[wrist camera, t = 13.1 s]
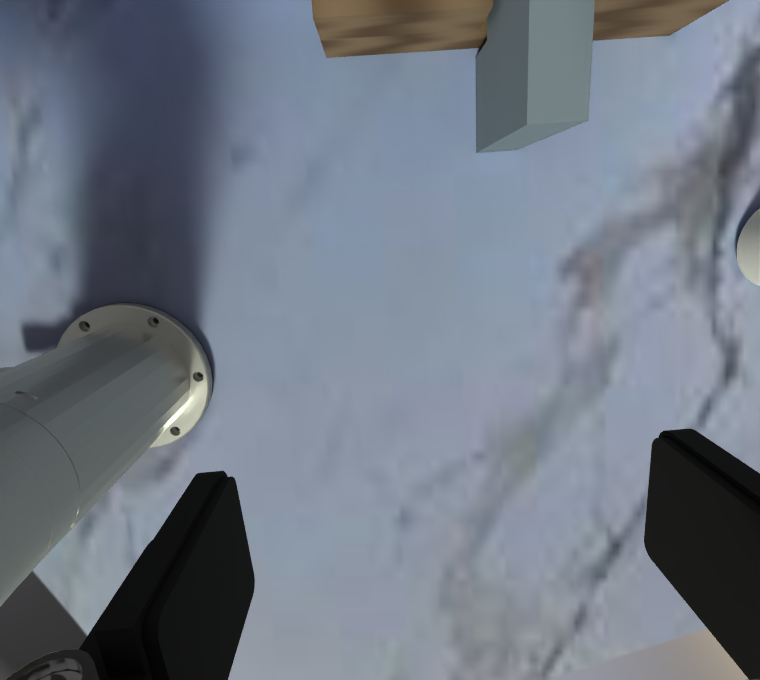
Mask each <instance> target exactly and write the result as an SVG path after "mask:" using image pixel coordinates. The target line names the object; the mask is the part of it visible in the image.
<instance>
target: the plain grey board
mask: <svg viewBox="0 0 760 680" xmlns="http://www.w3.org/2000/svg"><path fill="white" fill-rule="evenodd" d="M594 6H595V0H493V7H492V9H491V11H490V12H489V14H488V16H487V41H486V43H485V44H484V46H483V47H482V49H481V50H480V52H479V54H478V55H477V57H476V153H481V152H495V151H509V150H518V149H520V148H523V147H525V146H528V145H530V144H533V143H535V142H537V141H540V140H542V139H545V138H547V137H549V136H552V135H554V134H557V133H559V132H562V131H564V130H566V129H569V128H571V127H574V126H576V125H578V124H581V123H583V122H586V121H588V117H589V98H590V80H591V62H592V43H593V25H594Z"/></svg>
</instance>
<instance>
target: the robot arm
mask: <svg viewBox="0 0 760 680" xmlns="http://www.w3.org/2000/svg"><path fill="white" fill-rule="evenodd" d="M156 318H157V319H158V321H159V322H157V321H156ZM199 372H200V373H202V374H203V375H200V373H199ZM212 383H213V382H212V374H211V368H210V365H209V362H208V359H207V356H206V354H205V352H204V350H203V348H202V346H201V345H200V343H199V342H198V340H197V339H196V338H195V337H194V335H193V334H192V333H191V332H190V331H189V330H188V329H187V328H186V327H185V326H184V325H183V324H182V323H180V322H179V321H178V320H176V319H175V318H173V317H172V316H170V315H168V314H167V313H165V312H163V311H160V310H158V309H155V308H153V307H150V306H145V305H141V304H136V303H117V304H111V305H106V306H103V307H100V308H97V309H94V310H92V311H90V312H88V313H86V314H84V315H82V316H80V317H79V318H78V319H76V320H75V321H74V322H73V323H72V324H70V326H69V327H68V328H67V329H66V331H65V332H64V333H63V335H62V337H61V339H60V341H59V343H58V345H57V348H56V349H54V350H52V351H49V352H47V353H45V354H42V355H40V356H38V357H36V358H33V359H31V360H29V361H26V362H24V363H22V364H20V365H17V366H15V367H6V368H0V606H1V605H2V604H3V603H4V601H5V600H6V599H7V598H8V597H9V596H10V595H11V593H12V592H13V591H14V590H15V589H16V588H17V587H18V585H19V584H20V583H21V582H22V581H23V580H24V579H25V578H26V577H27V576H28V575H29V573H30V572H31V571H32V570H33V569H34V568H35V567H36V566H37V565H38V564H39V563H40V561H41V560H42V559H43V558H44V557H45V556H46V555H47V554H48V553H49V552H50V551H51V550H52V549H53V548H54V547H55V546H56V545H57V543H58V542H59V541H60V540H61V539H62V538H63V537H64V536H65V535H66V534H67V533H68V532H69V531H70V530H71V529H72V528H73V527H74V526H75V525H76V524H77V523H78V522H79V521H80V520H81V518H82V517H83V516H84V515H85V514H86V513H87V512H88V511H89V510H90V509H91V508H92V507H93V506H94V505H95V504H96V503H97V502H98V501H99V500H100V499H101V497H102V496H103V495H104V494H105V493H106V492H107V491H108V490H109V489H110V488H111V487H112V486H113V485H114V484H115V483H116V482H117V481H118V480H119V479H120V478H121V476H122V475H123V474H124V473H125V472H126V471H127V470H128V469H129V468H130V467H131V466H132V465H133V464H134V463H135V462H136V461H137V460H138V459H139V458H140V457H141V455H142V454H143V453H144V452H145V451H146V450H147V449H148V448H155V447H161V446H164V445H167V444H170V443H173V442H175V441H177V440H178V439H180V438H182V437H184V436H185V435H186V434H187V433H188V432H189V431H191V430H192V429H193V428H194V427H195V426H196V424H197V423H198V422H199V421H200V420H201V418H202V417H203V415H204V413H205V411H206V410H207V408H208V405H209V402H210V398H211V394H212ZM644 543H645V548H646V551H647V553H648V555H649V557H650V558H651V560H652V561H653V562H654V563H655V564H656V566H657V567H658V568H659V569H660V571H661V572H662V573H663V574H664V576H665V577H666V578H667V579H668V580H669V582H670V583H671V584H672V585H673V587H674V588H675V589H676V590H677V591H678V593H679V594H680V595H681V596H682V598H683V599H684V600H685V601H686V603H687V604H688V605H689V606H690V607H691V609H692V610H693V611H694V612H695V614H696V615H697V616H698V617H699V619H700V620H701V621H702V622H703V623H704V625H705V626H706V627H707V628H708V630H709V631H710V632H711V633H712V634H713V635H714V637H715V638H716V639H717V641H718V642H719V643H720V644H721V646H722V647H723V648H724V649H725V650H726V652H727V653H728V654H729V655H730V657H731V658H732V659H733V660H734V661H735V663H736V664H737V665H738V666H739V668H740V669H741V670H742V671H743V673H744V674H745V675H746V676H747V677H748V679H749V680H760V474H759V473H758V472H757V471H755V470H754V469H752V468H751V467H749V466H748V465H746V464H745V463H743V462H742V461H740V460H739V459H737V458H736V457H734V456H733V455H731V454H730V453H728V452H727V451H725V450H724V449H722V448H721V447H719V446H718V445H716V444H715V443H713V442H712V441H710V440H709V439H707V438H706V437H704V436H703V435H701V434H700V433H698V432H697V431H695V430H693V429H680V430H669V431H663V432H661V433H660V435H659V438H656V439H654V441H653V443H652V451H651V463H650V475H649V487H648V499H647V511H646V523H645V535H644ZM254 584H255V581H254V572H253V567H252V562H251V557H250V552H249V546H248V541H247V536H246V531H245V526H244V521H243V516H242V511H241V506H240V500H239V495H238V490H237V485H236V481H235V479H234V477H227V474H226V473H225V472H224V471H216V472H205V473H197V474H196V475H195V477H194V478H193V480H192V481H191V483H190V484H189V486H188V487H187V489H186V490H185V492H184V493H183V495H182V496H181V498H180V500H179V501H178V503H177V504H176V506H175V507H174V509H173V510H172V512H171V513H170V515H169V516H168V518H167V519H166V521H165V523H164V524H163V526H162V527H161V529H160V530H159V532H158V533H157V535H156V536H155V538H154V539H153V540H152V541H151V542H150V543H149V544H148V545H147V547H146V548H145V550H144V551H143V553H142V554H141V556H140V557H139V559H138V560H137V562H136V563H135V565H134V566H133V568H132V569H131V571H130V573H129V574H128V576H127V577H126V579H125V580H124V582H123V583H122V585H121V586H120V588H119V589H118V591H117V592H116V594H115V595H114V597H113V598H112V600H111V601H110V603H109V604H108V606H107V607H106V609H105V610H104V612H103V614H102V615H101V617H100V618H99V620H98V621H97V623H96V624H95V626H94V627H93V629H92V630H91V632H90V633H89V635H88V636H87V638H86V639H85V641H84V642H83V644H82V646H81V647H80V648H79V649H64V650H60V651H56V652H53V653H49V654H47V655H45V656H42V657H40V658H38V659H36V660H34V661H32V662H30V663H28V664H27V665H25V666H24V667H22V668H21V669H19V670H18V671H16V672H15V673H13V674H12V675H11V676H10V677H8V678H7V679H6V680H228V677H229V674H230V670H231V667H232V664H233V660H234V657H235V654H236V650H237V647H238V643H239V640H240V637H241V633H242V630H243V627H244V623H245V620H246V617H247V613H248V610H249V607H250V603H251V600H252V597H253V593H254Z"/></svg>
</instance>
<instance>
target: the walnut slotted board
mask: <svg viewBox="0 0 760 680" xmlns="http://www.w3.org/2000/svg"><path fill="white" fill-rule="evenodd" d="M727 1H729V0H595V6H594V25H593V40H607V39H622V38H638V37H653V36H669V35H671V34H673V33H675V32H676V31H678V30H680V29H681V28H683V27H685V26H686V25H688V24H690V23H692V22H693V21H695V20H697V19H698V18H700V17H702V16H703V15H705V14H707V13H708V12H710V11H712V10H714V9H715V8H717V7H719V6H720V5H722V4H724V3H725V2H727ZM492 7H493V0H312V10H313V19H314V22H315V25H316V28H317V31H318V34H319V37H320V40H321V43H322V46H323V49H324V51H325V54H326V57H327V58H329V57H345V56H360V55H375V54H391V53H406V52H422V51H437V50H453V49H468V48H482V47H483V46H484V44H485V43H486V41H487V16H488V14H489V12H490V11H491V9H492Z"/></svg>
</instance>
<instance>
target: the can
mask: <svg viewBox="0 0 760 680" xmlns="http://www.w3.org/2000/svg"><path fill="white" fill-rule="evenodd" d="M737 261H738V265H739V267H740V269H741V271H742V273H743V274H744V276H745V277H746V278H747V279H748V280H749V281H751V282H752V283H754V284H756V285H758V286H760V208H759V209H758V210H757V211H756V212H755V213H754V214H753V215H752V216H751V217H750V218H749V220H748V221H747V223H746V224H745V226H744V227H743V229H742V231H741V234H740V237H739V240H738V244H737Z"/></svg>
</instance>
